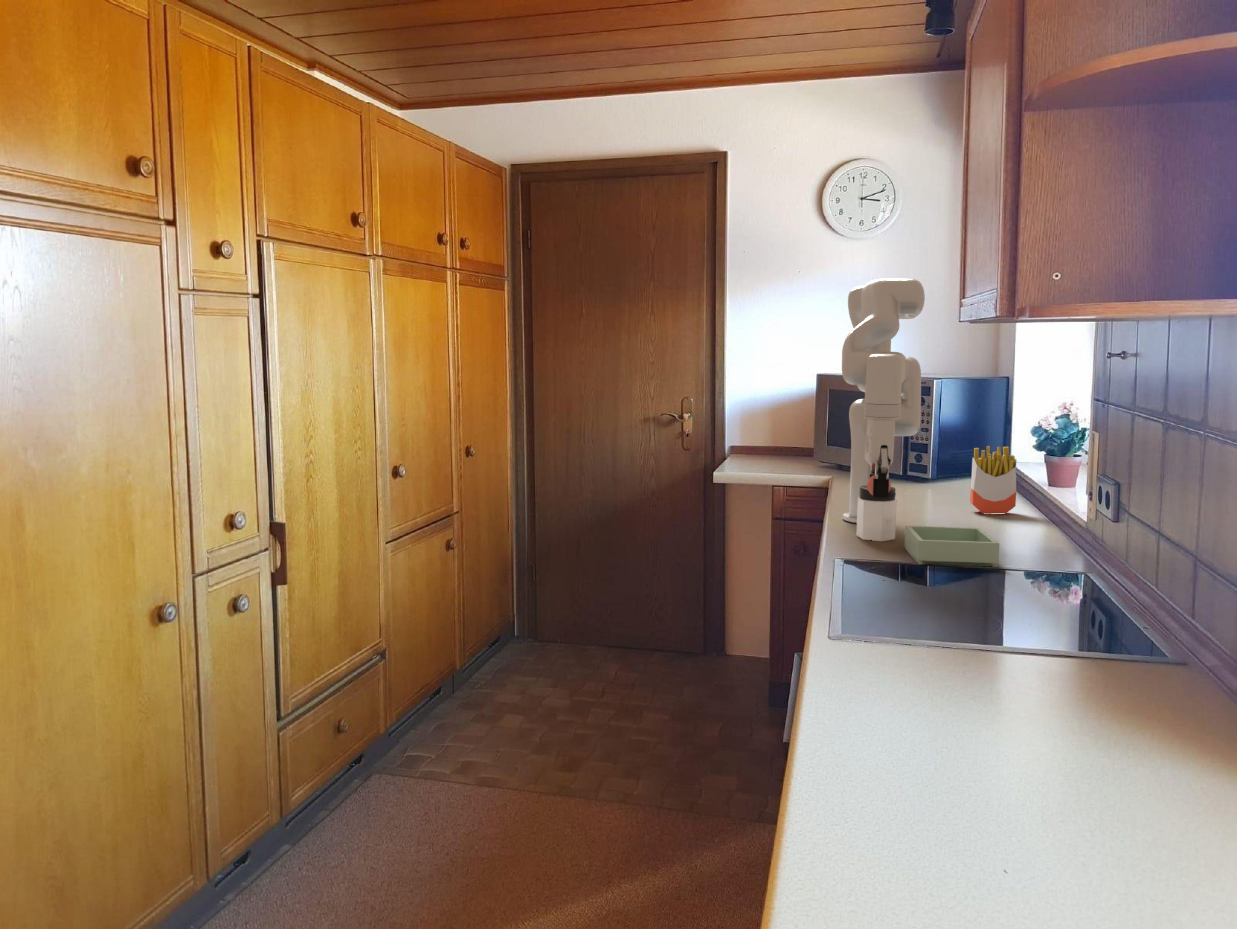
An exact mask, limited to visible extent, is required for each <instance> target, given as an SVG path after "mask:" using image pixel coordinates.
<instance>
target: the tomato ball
mask: <svg viewBox="0 0 1237 929" xmlns="http://www.w3.org/2000/svg"><path fill="white" fill-rule="evenodd" d="M873 479H875V475H873V476H872V477H871V478H870V479H869V480H868V483H867V488H868V491H869V492H870V494H872V495H873ZM891 487H892V483H891V480H890V479H889V491H890V488H891Z"/></svg>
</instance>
